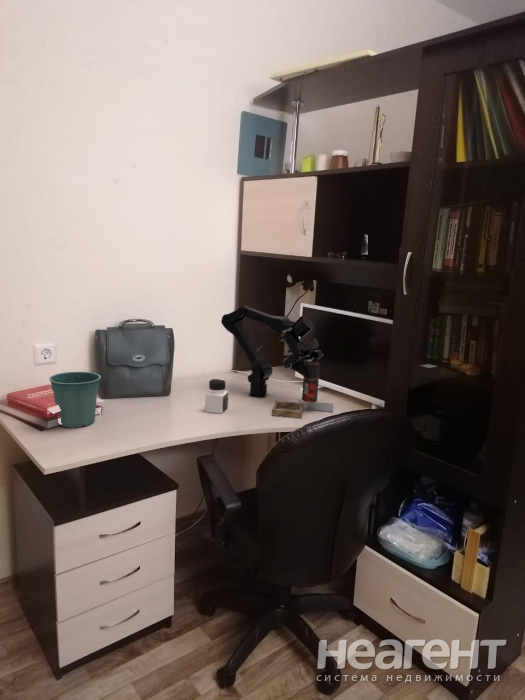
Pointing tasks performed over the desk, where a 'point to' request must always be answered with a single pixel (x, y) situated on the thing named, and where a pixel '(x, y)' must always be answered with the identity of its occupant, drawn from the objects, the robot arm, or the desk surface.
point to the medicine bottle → (216, 397)
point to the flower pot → (76, 397)
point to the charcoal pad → (320, 407)
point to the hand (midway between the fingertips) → (314, 377)
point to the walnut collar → (287, 412)
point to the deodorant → (311, 382)
